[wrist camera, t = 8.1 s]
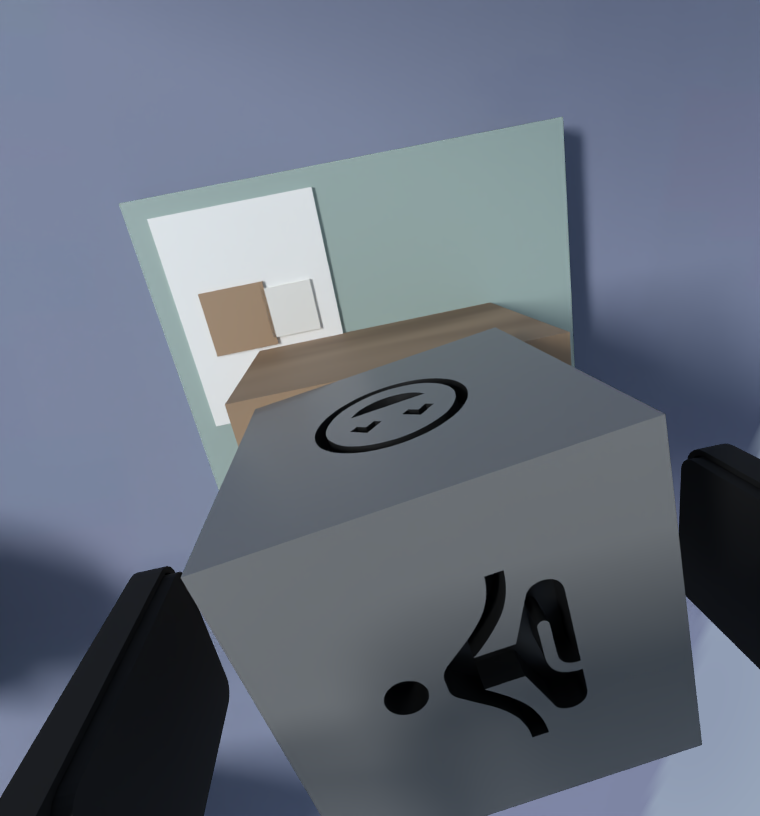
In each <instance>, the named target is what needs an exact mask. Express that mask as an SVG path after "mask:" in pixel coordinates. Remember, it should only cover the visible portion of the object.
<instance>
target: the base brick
mask: <svg viewBox="0 0 760 816" xmlns="http://www.w3.org/2000/svg"><path fill="white" fill-rule="evenodd" d="M495 327H496V328H498V329H500V330H502V331H504V332H506V333H508V334H510V335H512V336H514V337H516V338H517V339H519V340H521V341H523V342H525V343H527V344H529V345H531V346H533V347H535V348H537V349H539V350H541V351H543V352H545V353H547V354H549V355H551V356H553V357H555V358H557V359H559V360H561V361H562V362H564V363H566V364H568V365H570V366H571V346H570V332H568V331H566V330H563V329H560V328H558V327H555V326H552V325H550V324H547V323H544V322H541V321H539V320H536V319H533V318H531V317H528V316H525V315H523V314H520V313H517V312H515V311H512V310H509V309H507V308H504V307H501V306H498V305H496V304H493V303H485V304H480V305H476V306H471V307H466V308H461V309H456V310H451V311H447V312H442V313H437V314H432V315H427V316H423V317H418V318H413V319H408V320H403V321H398V322H394V323H389V324H384V325H379V326H374V327H369V328H365V329H360V330H355V331H350V332H345V333H343V334H339V335H334V336H329V337H324V338H319V339H315V340H310V341H305V342H300V343H295V344H290V345H286V346H281V347H276V348H271V349H266V350H262V351H259V353H258V354H257V356H256V357H255V359H254V360H253V362H252V363H251V365H250V366H249V368H248V370H247V371H246V373H245V374H244V376H243V377H242V379H241V380H240V382H239V383H238V385H237V386H236V388H235V390H234V391H233V393H232V394H231V396H230V397H229V399H228V400H227V402H226V403H225V407H226V410H227V413H228V417H229V420H230V423H231V426H232V429H233V432H234V435H235V438H236V441H237V444H238V447H239V444H240V442H241V440H242V438H243V435H244V433H245V431H246V429H247V426H248V424H249V422H250V420H251V417H252V415H253V413H254V411H255V409H257V408H260V407H263V406H266V405H269V404H272V403H275V402H278V401H281V400H283V399H286V398H289V397H292V396H295V395H298V394H301V393H304V392H307V391H310V390H313V389H316V388H319V387H322V386H324V385H327V384H330V383H333V382H336V381H339V380H342V379H345V378H348V377H351V376H354V375H357V374H360V373H363V372H366V371H368V370H371V369H374V368H377V367H380V366H383V365H386V364H389V363H392V362H395V361H398V360H401V359H404V358H407V357H409V356H412V355H415V354H418V353H421V352H424V351H427V350H430V349H433V348H436V347H439V346H442V345H445V344H448V343H451V342H453V341H456V340H459V339H462V338H465V337H468V336H471V335H474V334H477V333H480V332H483V331H486V330H489V329H492V328H495Z"/></svg>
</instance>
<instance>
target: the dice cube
mask: <svg viewBox="0 0 760 816" xmlns="http://www.w3.org/2000/svg"><path fill="white" fill-rule="evenodd" d="M181 579H182V581H183V583H184V584H185V586H186V588H187V590H188V591H189V593H190V595H191V596H192V598H193V600H194V601H195V603H196V605H197V606H198V608H199V610H200V612H201V613H202V615H203V617H204V618H205V620H206V622H207V623H208V625H209V627H210V628H211V630H212V632H213V634H214V635H215V637H216V639H217V640H218V642H219V644H220V645H221V647H222V649H223V651H224V652H225V654H226V656H227V657H228V659H229V661H230V662H231V664H232V666H233V667H234V669H235V671H236V673H237V674H238V676H239V678H240V679H241V681H242V683H243V684H244V686H245V688H246V689H247V691H248V693H249V695H250V696H251V698H252V700H253V701H254V703H255V705H256V706H257V708H258V710H259V711H260V713H261V715H262V717H263V718H264V720H265V722H266V723H267V725H268V727H269V728H270V730H271V732H272V734H273V735H274V737H275V739H276V740H277V742H278V744H279V745H280V747H281V749H282V750H283V752H284V754H285V756H286V757H287V759H288V761H289V762H290V764H291V766H292V767H293V769H294V771H295V772H296V774H297V776H298V778H299V779H300V781H301V783H302V784H303V786H304V788H305V789H306V791H307V793H308V795H309V796H310V798H311V800H312V801H313V803H314V805H315V806H316V808H317V810H318V811H319V813H320V815H321V816H487V815H490V814H493V813H496V812H499V811H502V810H505V809H508V808H511V807H514V806H517V805H520V804H524V803H527V802H530V801H533V800H536V799H539V798H542V797H545V796H548V795H551V794H554V793H557V792H560V791H563V790H566V789H569V788H572V787H575V786H578V785H581V784H584V783H587V782H590V781H593V780H596V779H599V778H602V777H606V776H609V775H612V774H615V773H618V772H621V771H624V770H627V769H630V768H633V767H636V766H639V765H642V764H645V763H648V762H651V761H654V760H657V759H660V758H663V757H666V756H669V755H672V754H675V753H678V752H681V751H684V750H688V749H691V748H694V747H697V746H700V745H702V740H701V731H700V723H699V713H698V704H697V696H696V686H695V677H694V668H693V659H692V650H691V641H690V632H689V623H688V614H687V605H686V596H685V587H684V578H683V569H682V560H681V551H680V542H679V533H678V524H677V515H676V506H675V497H674V488H673V479H672V470H671V461H670V452H669V444H668V435H667V426H666V417H665V414H664V413H662V412H660V411H658V410H656V409H654V408H652V407H650V406H649V405H647V404H645V403H643V402H641V401H639V400H637V399H635V398H633V397H631V396H629V395H627V394H625V393H623V392H621V391H619V390H617V389H615V388H613V387H611V386H609V385H607V384H605V383H604V382H602V381H600V380H598V379H596V378H594V377H592V376H590V375H588V374H586V373H584V372H582V371H580V370H578V369H576V368H574V367H572V366H570V365H568V364H566V363H564V362H562V361H561V360H559V359H557V358H555V357H553V356H551V355H549V354H547V353H545V352H543V351H541V350H539V349H537V348H535V347H533V346H531V345H529V344H527V343H525V342H523V341H521V340H519V339H517V338H516V337H514V336H512V335H510V334H508V333H506V332H504V331H502V330H500V329H498V328H496V327H495V328H492V329H489V330H486V331H483V332H480V333H477V334H474V335H471V336H468V337H465V338H462V339H459V340H456V341H453V342H451V343H448V344H445V345H442V346H439V347H436V348H433V349H430V350H427V351H424V352H421V353H418V354H415V355H412V356H409V357H407V358H404V359H401V360H398V361H395V362H392V363H389V364H386V365H383V366H380V367H377V368H374V369H371V370H368V371H366V372H363V373H360V374H357V375H354V376H351V377H348V378H345V379H342V380H339V381H336V382H333V383H330V384H327V385H324V386H322V387H319V388H316V389H313V390H310V391H307V392H304V393H301V394H298V395H295V396H292V397H289V398H286V399H283V400H281V401H278V402H275V403H272V404H269V405H266V406H263V407H260V408H257V409H255V411H254V413H253V415H252V417H251V420H250V422H249V424H248V426H247V429H246V431H245V433H244V435H243V438H242V440H241V442H240V444H239V447H238V449H237V451H236V454H235V456H234V458H233V460H232V463H231V465H230V467H229V469H228V472H227V474H226V476H225V478H224V481H223V483H222V485H221V487H220V490H219V492H218V494H217V496H216V499H215V501H214V503H213V505H212V508H211V510H210V512H209V514H208V517H207V519H206V521H205V524H204V526H203V528H202V530H201V533H200V535H199V537H198V539H197V542H196V544H195V546H194V548H193V551H192V553H191V555H190V557H189V560H188V562H187V564H186V566H185V569H184V571H183V573H182V575H181Z"/></svg>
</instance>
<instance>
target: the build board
mask: <svg viewBox="0 0 760 816" xmlns="http://www.w3.org/2000/svg"><path fill="white" fill-rule="evenodd" d="M119 206H120V209H121V212H122V214H123V217H124V220H125V223H126V226H127V229H128V232H129V234H130V237H131V240H132V243H133V246H134V249H135V252H136V254H137V257H138V260H139V263H140V266H141V269H142V272H143V274H144V277H145V280H146V283H147V286H148V289H149V292H150V294H151V297H152V300H153V303H154V306H155V309H156V312H157V314H158V317H159V320H160V323H161V326H162V329H163V332H164V334H165V337H166V340H167V343H168V346H169V349H170V352H171V355H172V357H173V360H174V363H175V366H176V369H177V372H178V375H179V377H180V380H181V383H182V386H183V389H184V392H185V395H186V397H187V400H188V403H189V406H190V409H191V412H192V415H193V417H194V420H195V423H196V426H197V429H198V432H199V435H200V437H201V440H202V443H203V446H204V449H205V452H206V455H207V457H208V460H209V463H210V466H211V469H212V472H213V475H214V477H215V480H216V483H217V486H218V489H219V490H220V487H221V485H222V483H223V481H224V478H225V476H226V474H227V472H228V469H229V467H230V465H231V463H232V460H233V458H234V456H235V454H236V451H237V449H238V444H237V441H236V438H235V435H234V432H233V429H232V426H231V423H230V420H229V417H228V413H227V410H226V407H225V403H226V402H227V400H228V399H229V397H230V396H231V394H232V393H233V391H234V390H235V388H236V386H237V385H238V383H239V382H240V380H241V379H242V377H243V376H244V374H245V373H246V371H247V370H248V368H249V366H250V365H251V363H252V362H253V360H254V359H255V357H256V356H257V354H258V353H259V351H262V350H266V349H271V348H276V347H281V346H286V345H290V344H295V343H300V342H305V341H310V340H315V339H319V338H324V337H329V336H334V335H339V334H343V333H345V332H350V331H355V330H360V329H365V328H369V327H374V326H379V325H384V324H389V323H394V322H398V321H403V320H408V319H413V318H418V317H423V316H427V315H432V314H437V313H442V312H447V311H451V310H456V309H461V308H466V307H471V306H476V305H480V304H485V303H493V304H496V305H498V306H501V307H504V308H507V309H509V310H512V311H515V312H517V313H520V314H523V315H525V316H528V317H531V318H533V319H536V320H539V321H541V322H544V323H547V324H550V325H552V326H555V327H558V328H560V329H563V330H566V331H568V332H570V346H571V366H572V367H574V368H575V365H574V343H573V322H572V301H571V280H570V258H569V237H568V216H567V194H566V173H565V152H564V131H563V117H559V118H554V119H549V120H544V121H538V122H533V123H528V124H523V125H518V126H513V127H508V128H503V129H498V130H492V131H487V132H482V133H477V134H472V135H467V136H462V137H457V138H452V139H446V140H441V141H436V142H431V143H426V144H421V145H416V146H411V147H406V148H400V149H395V150H390V151H385V152H380V153H375V154H370V155H365V156H360V157H354V158H349V159H344V160H339V161H334V162H329V163H324V164H319V165H314V166H308V167H303V168H298V169H293V170H288V171H283V172H278V173H273V174H268V175H262V176H257V177H252V178H247V179H242V180H237V181H232V182H227V183H222V184H216V185H211V186H206V187H201V188H196V189H191V190H186V191H181V192H176V193H170V194H165V195H160V196H155V197H150V198H145V199H140V200H135V201H130V202H125V203H119Z"/></svg>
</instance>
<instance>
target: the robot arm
mask: <svg viewBox="0 0 760 816" xmlns="http://www.w3.org/2000/svg"><path fill="white" fill-rule="evenodd" d="M679 542H680V551H681V560H682V569H683V578H684V587H685V595H686V596H687V597H688V599H689V600H691V601H692V602H693V603H694V604H695V605H696V606H697V607H698V608H699V609H700V610H701V611H702V612H703V613H704V614H705V615H706V616H707V617H708V618H709V619H710V620H711V621H712V622H713V623H714V624H715V625H716V626H717V627H718V628H719V629H720V630H721V631H722V632H723V633H724V634H725V635H726V636H727V637H728V638H729V639H730V640H731V641H732V642H733V643H734V644H735V645H736V646H737V647H738V648H739V649H740V650H741V651H742V652H743V653H744V654H745V655H746V656H747V657H748V658H749V659H750V660H751V661H752V662H753V663H754V664H755V665H756V666H757V667H758V668H759V669H760V459H759V458H757V457H755V456H753V455H751V454H749V453H747V452H745V451H743V450H741V449H739V448H737V447H735V446H733V445H730V444H720V445H715V446H711V447H706V448H701V449H697V450H694V451H692V452H691V453H690V454H689V456H688V460H686V461H684V462H683V464H682V467H681V488H680V516H679ZM181 575H182V572H177V573H175V571H174V570H173V569H172V568H171V567H168V566H166V567H161V568H157V569H152V570H148V571H143V572H139V573H136V574H134V575H133V576H132V577H131V579H130V580H129V582H128V584H127V585H126V587H125V589H124V590H123V592H122V594H121V595H120V597H119V599H118V600H117V602H116V604H115V606H114V607H113V609H112V611H111V612H110V614H109V616H108V617H107V619H106V621H105V622H104V624H103V626H102V627H101V629H100V631H99V632H98V634H97V636H96V638H95V639H94V641H93V643H92V644H91V646H90V648H89V649H88V651H87V653H86V654H85V656H84V658H83V659H82V661H81V663H80V664H79V666H78V668H77V670H76V671H75V673H74V675H73V676H72V678H71V680H70V681H69V683H68V685H67V686H66V688H65V690H64V691H63V693H62V695H61V696H60V698H59V700H58V702H57V703H56V705H55V707H54V708H53V710H52V712H51V713H50V715H49V717H48V718H47V720H46V722H45V723H44V725H43V727H42V729H41V730H40V732H39V734H38V735H37V737H36V739H35V740H34V742H33V744H32V745H31V747H30V749H29V750H28V752H27V754H26V755H25V757H24V759H23V761H22V762H21V764H20V766H19V767H18V769H17V771H16V772H15V774H14V776H13V777H12V779H11V781H10V782H9V784H8V786H7V787H6V789H5V791H4V793H3V794H2V796H1V798H0V816H204V812H205V807H206V803H207V798H208V793H209V789H210V784H211V780H212V775H213V771H214V766H215V762H216V757H217V753H218V748H219V744H220V739H221V734H222V730H223V725H224V721H225V716H226V712H227V707H228V702H229V684H228V680H227V677H226V675H225V672H224V670H223V667H222V665H221V662H220V660H219V657H218V655H217V652H216V650H215V648H214V645H213V643H212V640H211V638H210V635H209V633H208V630H207V628H206V625H205V623H204V621H203V618H202V616H201V613H200V611H199V608H198V606H197V605H196V603H195V601H194V600H193V598H192V596H191V595H190V593H189V591H188V590H187V588H186V586H185V584H184V583H183V581H182V579H181Z"/></svg>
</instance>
